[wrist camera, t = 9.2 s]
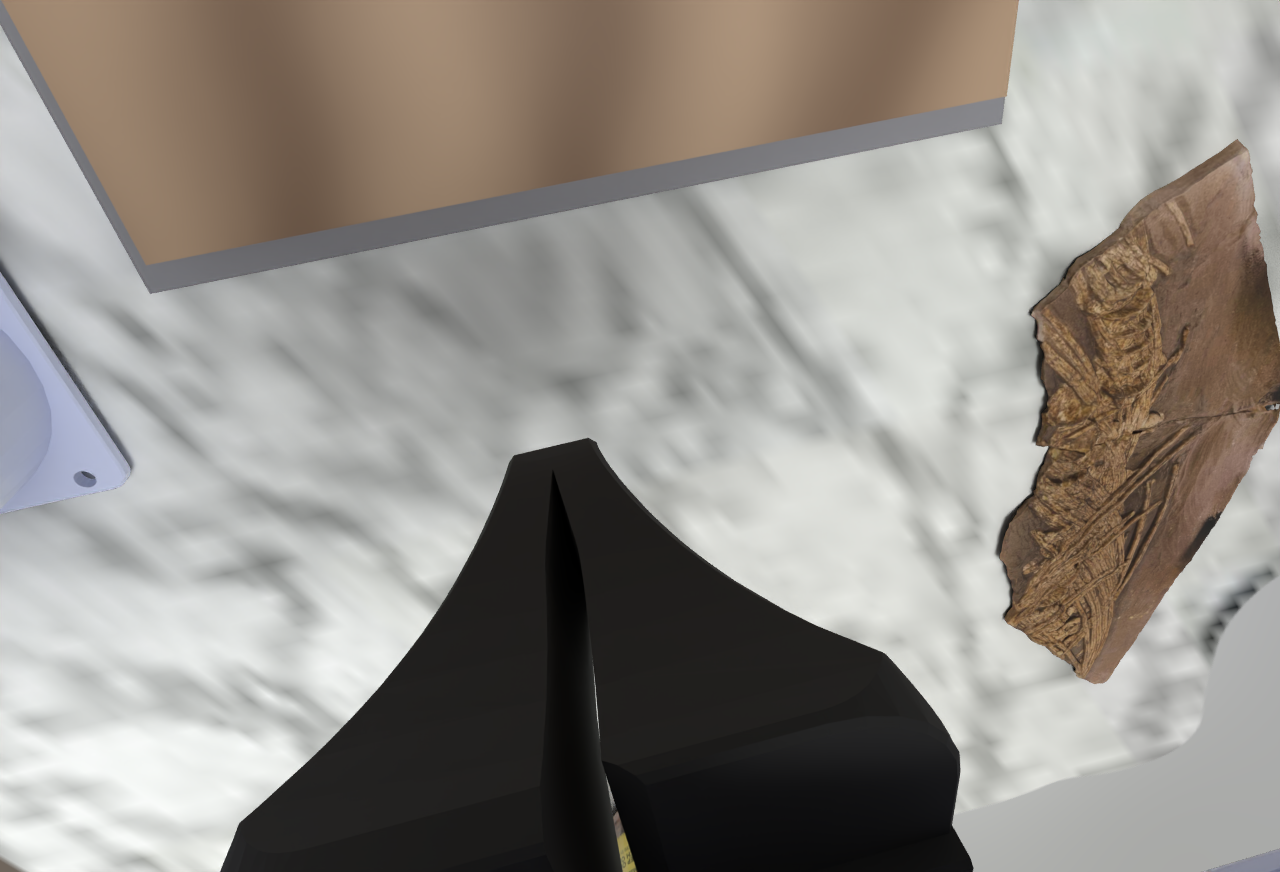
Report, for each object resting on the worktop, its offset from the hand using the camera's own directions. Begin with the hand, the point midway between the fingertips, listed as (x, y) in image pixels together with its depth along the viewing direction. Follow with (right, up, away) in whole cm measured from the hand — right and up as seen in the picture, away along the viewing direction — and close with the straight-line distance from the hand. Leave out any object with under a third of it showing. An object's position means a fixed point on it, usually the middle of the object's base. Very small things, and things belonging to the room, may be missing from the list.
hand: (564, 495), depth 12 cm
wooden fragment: (+21, -1, +17) cm, 27 cm away
